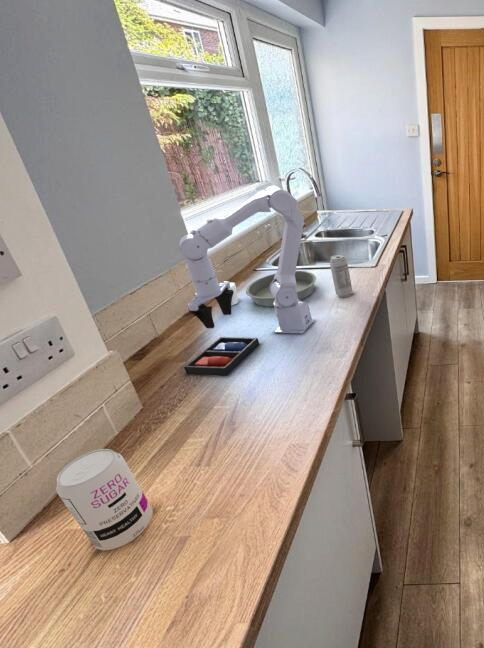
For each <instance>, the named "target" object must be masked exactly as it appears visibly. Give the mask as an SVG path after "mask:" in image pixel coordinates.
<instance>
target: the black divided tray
mask: <svg viewBox="0 0 484 648" xmlns="http://www.w3.org/2000/svg"><path fill="white" fill-rule="evenodd" d="M228 342H243V343H245V344H246V345H247V346H246V347H245V348H244V349H243V350H242V351H231V350H228V351H213V349H214V348H215V347H216V346H217V345H218V344H220V343H228ZM259 346H260V342H259V339H258V337H244V336H243V337H240V336H239V337H235V336H220V337H218V338H217V339H216V340H215V341H214V342H212V343H211V344H210V345H208V346H207V347H206V348H204V350H203V351H202V352H200V353H198V355H197V356H195V357H194V358H193V359H192V360H191V361H189V362H188V363H187V364H185V365H184V366H183V368H184V371H185V373H186V375H194V376H195V375H197V376H218V377H220V376H221V377H222V376H223V377H228V376H229V375H230V374H231V373H232V372H233V371H234V370H235V369H237V367H238V366H240V364H241V363H242V362H244V360H246V359H247V358H248V357H249V356H250V355H251V354H252V353H253V352H254V351H255V350H257V348H258V347H259ZM212 356H216V357H229V358H230V359H231V361H230V362H229V363H228V364H227V365H226V366H219V365H211V366H195V363H197V362H198V361H199V360H200V359H201V358H203V357H212Z"/></svg>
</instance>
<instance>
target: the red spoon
mask: <svg viewBox="0 0 484 648" xmlns="http://www.w3.org/2000/svg"><path fill="white" fill-rule="evenodd" d="M230 361H231V359H230V358H229V357H216V356H212V357H203V358H201V359H200V360H199V361H198V362H197V363H195V366H211V365H219V366H226V365H227V364H228V363H229V362H230Z"/></svg>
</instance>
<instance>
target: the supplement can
mask: <svg viewBox="0 0 484 648" xmlns="http://www.w3.org/2000/svg"><path fill="white" fill-rule="evenodd" d="M56 482H57V483H56V486H55V492H56V493H57V495H58V497H59V498H60V500H61V501H62V502H63V504H64V505H65V507H66V508H67V510H68V511H69V512H70V514H71V515H72V517H73V518H74V519H75V521H76V522H77V524H78V526H79V527H80V528H81V529H82V531H83V533H84V534H85V535H86V537H87V539H89V541H90V543H91V544H92V545H93V547H94V548H95V549H96V550H99V551H110V550H111V551H112V550H116V549H118V548H121V547H123V546H126V545H128V544H129V543H131V542H132V541H134V540H136V539H137V538H138V537H139V536H140V535H142V533H143V532H144V531H145V529H146V528H147V527H148V525H149V524H150V523H151V520H152V519H153V515H154V514H153V513H154V512H153V511H154V509H153V508H152V506H151V504H150V502H149V500H148V499H147V497H146V495H145V494H144V492H143V490H142V487H140V485H139V483H138V481H137V479H136V478H135V476H134V474H133V472H132V471H131V469H130V467H129V465H128V463H127V461H126V460H125V458H124V457H123V456H122V454H121V453H119V452H115V451H114V450H112V449H109V448H100V449H95V450H92V451H89V452H87V453H84V454H83V455H80V456H78V457H77V458H75V459H73V460H72V461H70V462H69V463H68V464H67V465H66V466H64V467H63V468H62V469H61V471H60V472H59V473H58V474H57V478H56Z"/></svg>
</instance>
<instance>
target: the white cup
mask: <svg viewBox="0 0 484 648" xmlns="http://www.w3.org/2000/svg"><path fill="white" fill-rule="evenodd" d="M228 282H229V284H230V287H231V288H229V289H228V290H233V292H234V293H233V296H232V302H231V307H232V306H235V305H237V304H238V303H239V296H238V292H237V291H238V290H237V286H236V282H232V281H228Z"/></svg>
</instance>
